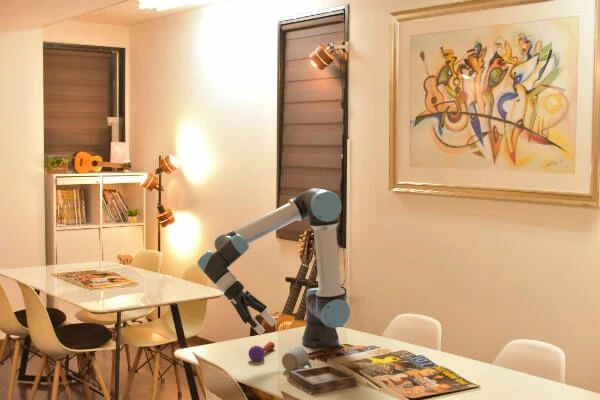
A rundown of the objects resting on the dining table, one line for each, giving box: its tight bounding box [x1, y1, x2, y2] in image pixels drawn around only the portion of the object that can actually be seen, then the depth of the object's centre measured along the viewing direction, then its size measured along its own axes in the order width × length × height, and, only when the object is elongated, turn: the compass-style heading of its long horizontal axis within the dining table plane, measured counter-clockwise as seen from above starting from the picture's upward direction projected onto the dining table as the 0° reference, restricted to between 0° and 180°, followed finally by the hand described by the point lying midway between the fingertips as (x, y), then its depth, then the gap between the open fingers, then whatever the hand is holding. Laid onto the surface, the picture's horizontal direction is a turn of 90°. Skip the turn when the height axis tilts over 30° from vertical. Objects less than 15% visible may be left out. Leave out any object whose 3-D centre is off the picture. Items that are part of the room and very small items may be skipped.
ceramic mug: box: [281, 346, 313, 372], centre depth 304 cm, size 11×8×8 cm
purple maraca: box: [248, 341, 276, 362], centre depth 323 cm, size 6×6×20 cm
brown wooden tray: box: [286, 364, 359, 395], centre depth 288 cm, size 18×18×3 cm
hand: (268, 328), depth 307 cm, fingers open, 13 cm apart
